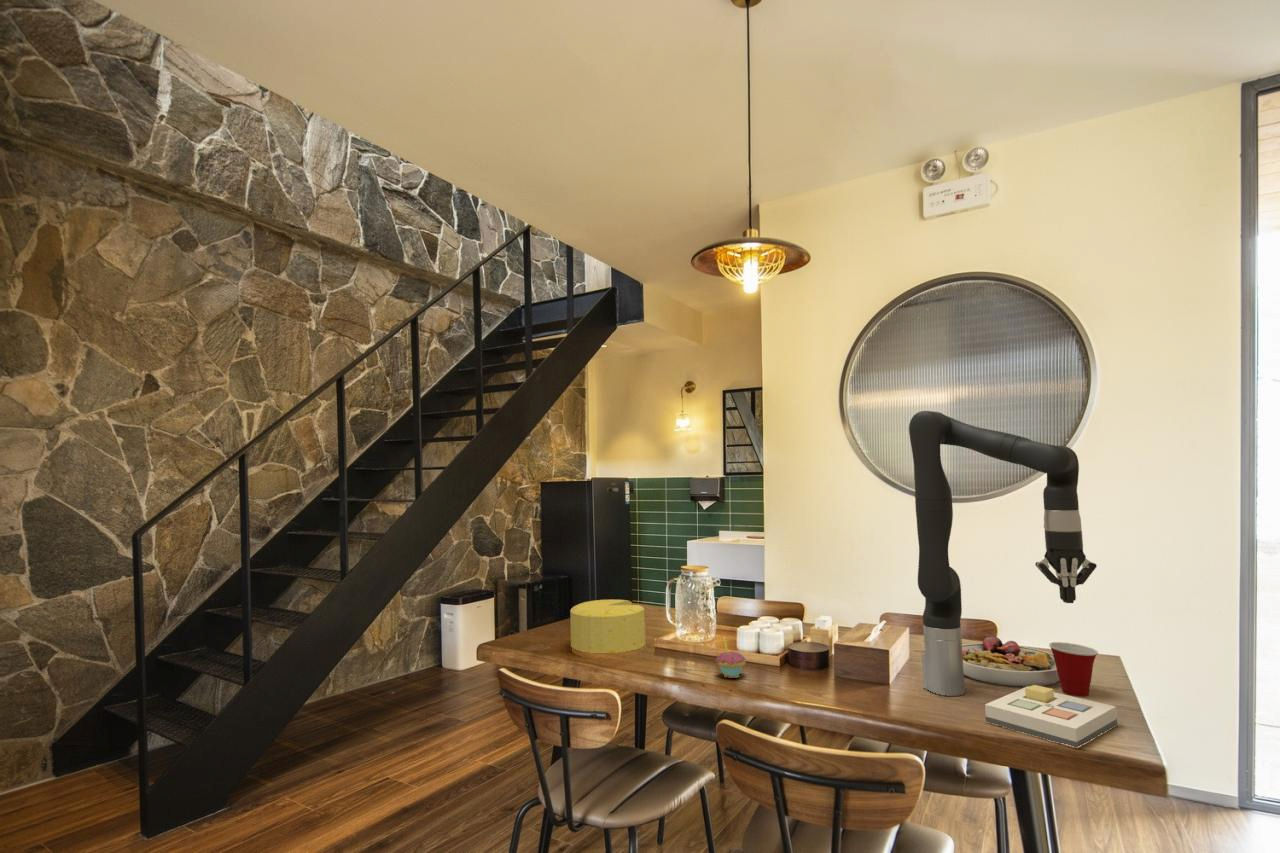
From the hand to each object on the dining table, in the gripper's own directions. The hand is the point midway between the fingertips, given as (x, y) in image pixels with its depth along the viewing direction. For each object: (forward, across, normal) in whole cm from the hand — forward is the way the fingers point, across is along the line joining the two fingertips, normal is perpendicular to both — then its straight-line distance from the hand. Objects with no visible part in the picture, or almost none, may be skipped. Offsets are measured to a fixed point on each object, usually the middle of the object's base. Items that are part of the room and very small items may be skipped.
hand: (1068, 602), depth 155 cm
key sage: (+25, -12, -3) cm, 28 cm away
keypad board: (+27, -7, -4) cm, 28 cm away
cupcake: (+27, -81, +26) cm, 90 cm away
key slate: (+25, -2, -4) cm, 25 cm away
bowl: (+28, -3, +37) cm, 46 cm away
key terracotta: (+25, -7, -9) cm, 28 cm away
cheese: (+27, -125, +54) cm, 139 cm away
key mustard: (+23, -7, +2) cm, 24 cm away
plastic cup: (+27, +8, +20) cm, 35 cm away
